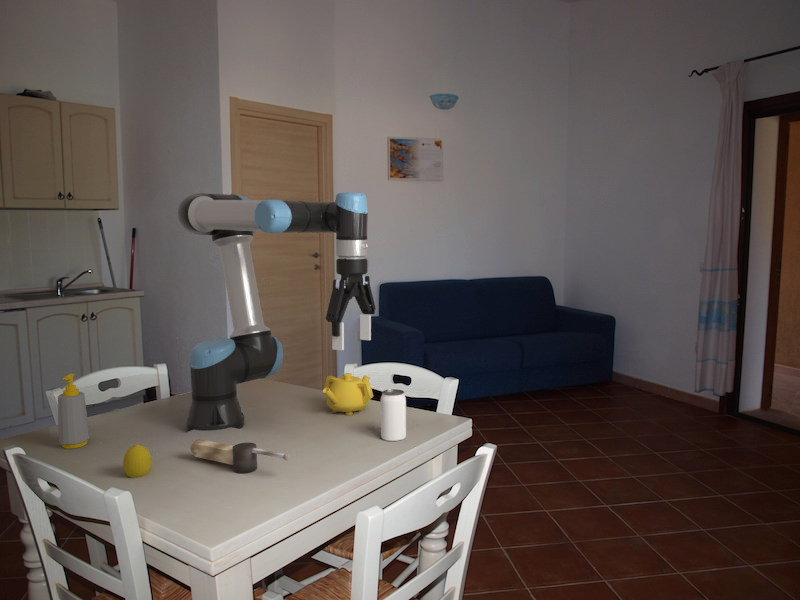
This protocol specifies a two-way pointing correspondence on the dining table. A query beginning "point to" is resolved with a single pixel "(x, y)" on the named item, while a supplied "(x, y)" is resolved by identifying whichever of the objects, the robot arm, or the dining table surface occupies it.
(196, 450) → the tan long two-tone device
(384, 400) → the can
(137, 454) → the lemon
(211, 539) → the dining table surface
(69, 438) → the soap bottle
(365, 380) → the teapot
